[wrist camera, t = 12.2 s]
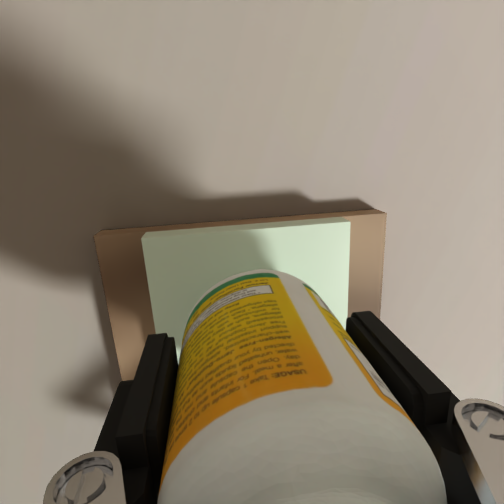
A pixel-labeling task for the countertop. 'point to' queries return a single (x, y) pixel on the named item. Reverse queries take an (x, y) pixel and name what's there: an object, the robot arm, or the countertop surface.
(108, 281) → the wire board
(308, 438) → the supplement bottle
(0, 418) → the countertop surface
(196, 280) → the pad
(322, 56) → the countertop surface
